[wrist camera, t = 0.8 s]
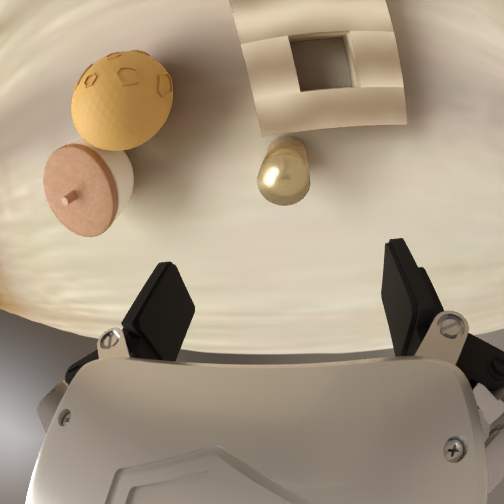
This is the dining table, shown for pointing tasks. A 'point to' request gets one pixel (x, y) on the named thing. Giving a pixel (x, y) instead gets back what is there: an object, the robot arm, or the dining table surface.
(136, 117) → the stress ball
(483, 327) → the dining table surface
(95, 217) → the lidded jar
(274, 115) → the jig
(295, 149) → the brass cylinder
